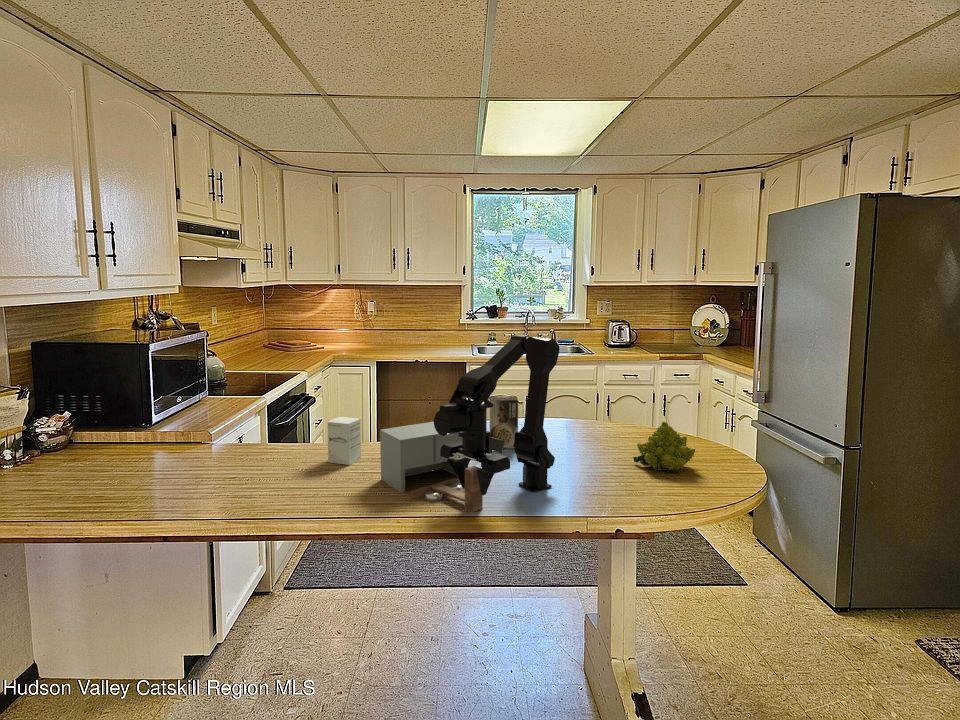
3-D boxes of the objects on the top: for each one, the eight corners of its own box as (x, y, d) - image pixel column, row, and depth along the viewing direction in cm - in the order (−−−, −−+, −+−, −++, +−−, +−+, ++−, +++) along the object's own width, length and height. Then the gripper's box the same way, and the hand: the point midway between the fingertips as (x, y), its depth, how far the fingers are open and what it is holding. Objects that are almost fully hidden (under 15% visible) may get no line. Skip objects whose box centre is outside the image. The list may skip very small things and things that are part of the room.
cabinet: (466, 478, 169) (466, 429, 167) (401, 493, 158) (400, 440, 156) (444, 466, 179) (444, 419, 177) (381, 479, 168) (380, 429, 166)
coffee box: (516, 443, 204) (517, 395, 202) (518, 448, 198) (519, 399, 195) (488, 443, 204) (489, 395, 201) (489, 449, 197) (490, 399, 195)
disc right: (469, 491, 160) (469, 485, 160) (456, 496, 157) (457, 489, 157) (457, 487, 163) (457, 481, 163) (445, 491, 160) (445, 485, 160)
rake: (500, 502, 152) (500, 463, 151) (454, 518, 142) (453, 477, 141) (456, 485, 164) (456, 449, 163) (410, 499, 154) (410, 460, 153)
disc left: (445, 499, 155) (445, 493, 155) (432, 503, 152) (432, 497, 152) (434, 494, 158) (434, 488, 158) (421, 498, 155) (421, 492, 155)
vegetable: (619, 452, 182) (649, 410, 181) (651, 472, 189) (680, 432, 188) (650, 476, 169) (682, 432, 168) (683, 497, 176) (714, 454, 175)
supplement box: (327, 463, 182) (326, 421, 180) (340, 456, 189) (339, 415, 187) (349, 465, 180) (348, 423, 178) (362, 458, 187) (361, 417, 185)
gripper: (526, 429, 144) (525, 493, 147) (472, 415, 158) (471, 474, 160) (493, 438, 137) (492, 505, 139) (438, 422, 150) (438, 484, 152)
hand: (474, 491), depth 148 cm, fingers open, 6 cm apart
